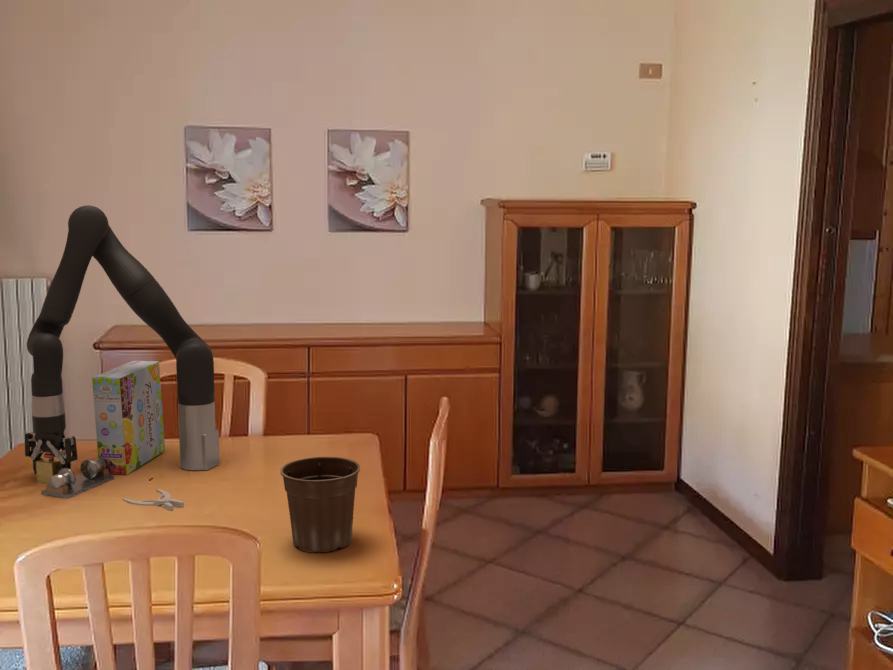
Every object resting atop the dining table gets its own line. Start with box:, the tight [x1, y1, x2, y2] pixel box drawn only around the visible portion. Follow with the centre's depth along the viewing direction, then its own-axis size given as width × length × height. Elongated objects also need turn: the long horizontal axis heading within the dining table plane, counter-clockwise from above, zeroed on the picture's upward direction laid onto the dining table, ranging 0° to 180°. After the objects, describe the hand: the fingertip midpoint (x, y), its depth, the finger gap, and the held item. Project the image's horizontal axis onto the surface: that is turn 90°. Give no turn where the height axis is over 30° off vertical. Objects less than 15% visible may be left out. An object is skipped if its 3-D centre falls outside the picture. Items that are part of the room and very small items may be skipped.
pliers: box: [122, 488, 184, 512], centre depth 215 cm, size 10×2×15 cm
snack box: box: [91, 360, 166, 476], centre depth 243 cm, size 22×9×26 cm, turn 171°
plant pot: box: [280, 456, 361, 553], centre depth 190 cm, size 16×16×16 cm
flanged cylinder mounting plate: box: [40, 457, 115, 499], centre depth 225 cm, size 16×8×6 cm, turn 160°
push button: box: [36, 452, 62, 485], centre depth 229 cm, size 5×5×7 cm
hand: (52, 475), depth 229 cm, fingers open, 8 cm apart
